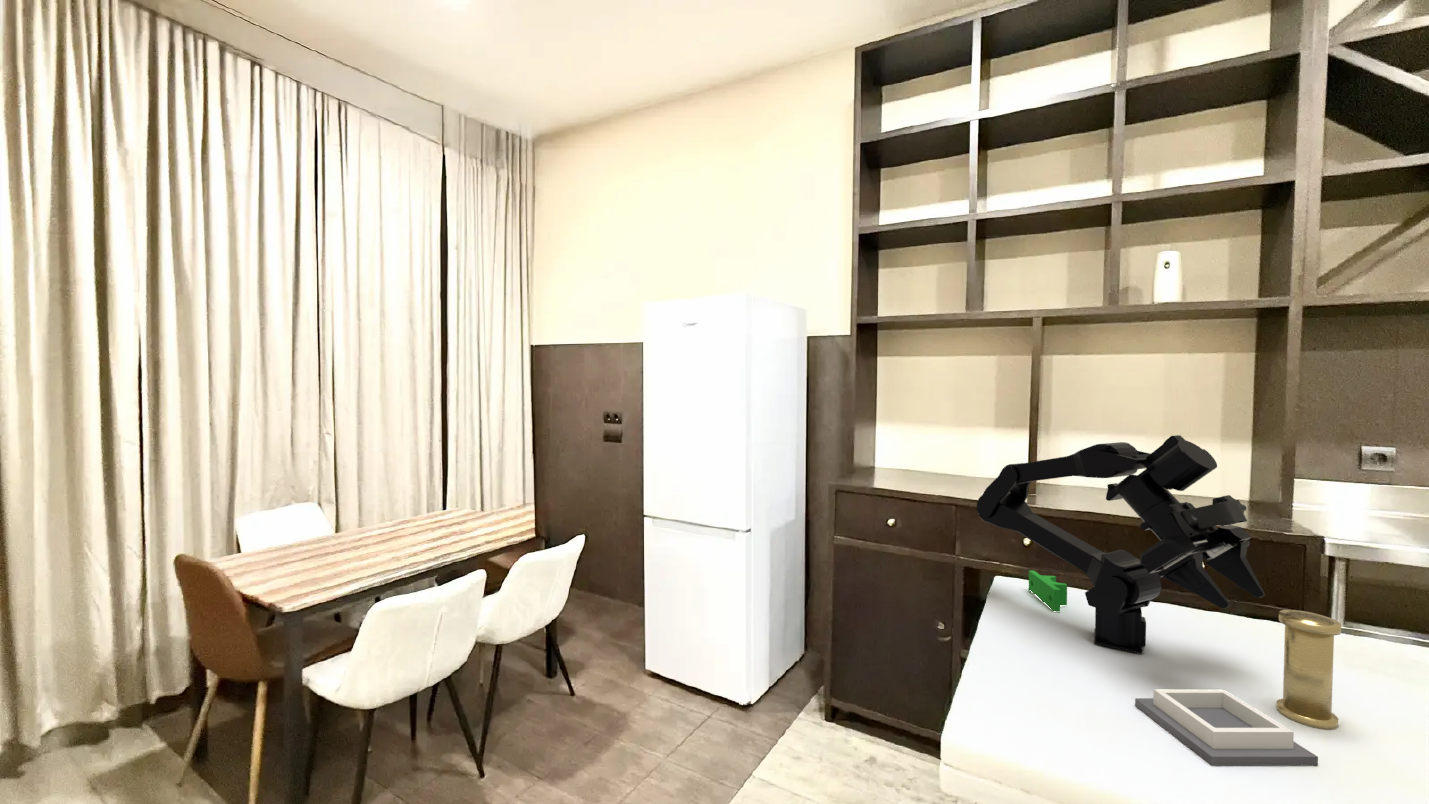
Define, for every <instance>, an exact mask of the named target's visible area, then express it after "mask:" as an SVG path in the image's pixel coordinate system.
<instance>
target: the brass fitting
mask: <svg viewBox="0 0 1429 804" xmlns="http://www.w3.org/2000/svg"><path fill="white" fill-rule="evenodd" d="M1278 621H1279V622H1280V623H1281V624H1282V625H1284V647H1283V648H1284V650H1283V651H1284V652H1283V653H1284V654H1283V655H1284V656H1283V683H1282V684H1283V687H1282V698H1279V699H1277V700H1276V704H1275V705H1276V710H1277V712H1278V713H1279V714H1280V715H1282V716H1283V717H1285V718H1286V719H1288V720H1291V721H1293V722H1295V723H1298V724H1301V725H1303V726H1307V727H1310V728H1311V727H1312V728H1316V729H1319V730H1336V729H1337V728H1339V717H1338V716H1337V715H1336V714H1334V712H1333V710H1332V709H1333V685H1334V683H1333V680H1334V651H1335V650H1334V646H1335V645H1334V644H1335V642H1334V641H1335V636H1339V635H1341V634H1342V624H1341V622H1339V620H1336V619H1333V618H1332V617H1328V616H1326V615H1322V614H1318V613H1314V612H1311V611H1310V612H1309V611H1304V610H1298V609H1282V610H1279V611H1278Z"/></svg>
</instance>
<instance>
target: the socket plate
mask: <svg viewBox="0 0 1429 804" xmlns="http://www.w3.org/2000/svg"><path fill="white" fill-rule="evenodd" d="M1134 706H1135V707H1136V708H1138V709H1139V710H1140V711H1141V712H1143V713H1144V714H1145V715H1147V716H1148V717H1149V718H1151V720H1153V721H1154V722H1155V723H1157V724H1158V725H1159V726H1160V727H1162V728H1163V729H1165V730H1166V731H1167V732H1168V733H1169V734H1171V735H1172V736H1174V737H1175V738H1176V739H1177V740H1179V741H1180V742H1181V743H1183V744H1184V745H1185V746H1186V747H1188V749H1190V750H1191V751H1193V752H1194V753H1195V754H1197V755H1198V756H1199V757H1201V758H1202V759H1203V760H1205V762H1207V763H1208V764H1209V765H1211V766H1319V765H1318V764H1319V756H1317V755H1316V754H1314V752H1311V751H1309V749H1306V748H1305V747H1303V746H1302V745H1300V744H1298V743H1297V742H1295V741H1294V740H1295V739H1294V737H1295V735H1294V734H1295V733H1294V731H1293V730H1291V729H1289V728H1288V727H1286V726H1285V725H1283V724H1281V723H1280V722H1278V721H1276V720H1275V719H1273V718H1272V717H1270V716H1269V715H1266V714H1265V713H1263V712H1261V710H1259V709H1256V708H1255V707H1254V706H1252V705H1250V704H1249V703H1247V702H1245V701H1243V700H1242V699H1240V698H1239V697H1237V696H1236V695H1233V694H1232V693H1231V692H1228V691H1226V690H1225V689H1220V688H1219V689H1213V688H1212V689H1211V688H1209V689H1204V688H1203V689H1197V688H1195V689H1194V688H1193V689H1188V688H1187V689H1180V688H1179V689H1173V688H1172V689H1168V688H1167V689H1164V688H1163V689H1161V688H1159V689H1157V688H1156V689H1155V688H1154V689H1153V698H1149V697H1148V698H1143V697H1142V698H1137V697H1136V698H1134Z"/></svg>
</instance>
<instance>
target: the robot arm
mask: <svg viewBox="0 0 1429 804" xmlns="http://www.w3.org/2000/svg"><path fill="white" fill-rule="evenodd" d="M1217 468H1218V463H1217V460H1216V459H1215V458H1214V457H1213V456H1212V454H1211V453H1209V451H1207V450H1206V449H1204V448H1201V447H1200V446H1198V445H1197V444H1195V443H1194V442H1191V441H1188V440H1186V439H1185V438H1184V437H1183V436H1182V435H1180V434H1179V435H1178V434H1176V435H1171V436H1169V437H1168V438H1167V439H1166V440H1164V442H1163V443H1162V444H1161V445H1160V446H1158V448H1156V449H1155V450H1153V451H1152V452H1151V453H1150V452H1146V451H1141V450H1138V449H1137V448H1136V447H1135V446H1133V445H1131V444H1130V443H1129V442H1123V441H1119V442H1109V443H1108V442H1107V443H1096V444H1093V445H1091V446H1088V447H1085V448H1082V449H1080V450H1078V451H1076V452H1075V453H1073V454H1070V455H1067V456H1060V457H1055V458H1047V459H1042V460H1036V461H1030V462H1024V463H1023V462H1021V463H1010V464H1007V465H1005V466H1004V467H1003V468H1002V469H1001V470H1000V473H999V474H998V475H997V477H996V478H995V479H994V480H993V481H992V482H991V483H990V484H989V485H988V486H987V487H985V490H984V491H983V493H982V495H980V497H978V499H977V501H976V510H977V513H978V515H977V516H978V517H979V518H980V519H981V520H982V521H983V522H985V523H988V524H990V525H992V526H995V527H998V528H1002V529H1006V530H1010V531H1014V532H1017V533H1019V534H1020V535H1022V536H1023V537H1025V538H1027V539H1028V540H1030V541H1032V542H1034V543H1036V544H1037V545H1039V546H1040V547H1042V548H1043V549H1045V550H1047V551H1048V552H1049V553H1051V554H1053V555H1055V556H1057V558H1060V559H1062V560H1063V561H1065V562H1067V563H1068V564H1070V565H1071V566H1073V567H1074V568H1076V569H1078V570H1079V571H1081V572H1083V573H1084V574H1085V575H1086V576H1087V577H1088V579H1089V580H1090V582H1091V583H1092V586H1093V587H1092V588H1089V589H1088V590H1087V591H1085V592H1084V595H1085V597H1086V601H1087V605H1088V606H1089V607H1093V608H1094V609H1095V613H1094V614H1095V615H1094V620H1095V621H1094V626H1095V627H1094V629H1093V631H1094V632H1093V633H1094V634H1093V644H1095V645H1098V646H1102V647H1108V648H1111V649H1116V650H1122V651H1127V652H1131V653H1134V654H1140V655H1141V654H1143V648H1145V647H1147V645H1146V644H1147V643H1146V642H1147V620H1146V617H1145V616H1143V613H1142V608H1145V607H1148V606H1149V605H1150V603H1151V601H1152V600H1153V599H1155V598H1157V597H1158V596H1160V593H1161V591H1162V582H1161V579H1160V578H1164V579H1166V580H1167V581H1169V582H1172V583H1174V584H1176V585H1179V586H1180V587H1182V588H1184V589H1186V590H1188V591H1189V592H1190V593H1191V592H1192V593H1193V594H1195V595H1197V596H1199V597H1201V598H1202V599H1204V600H1206V601H1207V602H1209V603H1211V604H1213V605H1214V606H1217V608H1221V609H1223V610H1224V609H1228V608H1229V607H1230V606H1231V604H1230V602H1229V600H1228V599H1227V597H1226V596H1225V595H1224V593H1223V592H1222V591H1221V589H1220V587H1219V586H1218V585H1217V584H1216V583H1215V581H1214V580H1213V579H1212V577H1211V576H1210V574H1209V573H1208V572H1207V571H1206V569H1205V568H1204V565H1203V563H1204V561H1203V560H1204V559H1205V560H1206V562H1205V564H1206V565H1207V566H1208V567H1210V568H1212V569H1213V570H1215V571H1216V572H1218V573H1219V574H1221V575H1223V576H1224V577H1225V578H1227V580H1229V581H1231V582H1232V583H1233V584H1235V585H1237V586H1238V587H1239V588H1241V589H1242V590H1244V591H1245V592H1246V593H1248V594H1250V595H1252V596H1253V597H1254V598H1256V599H1260V598H1263V597H1264V596H1265V595H1266V594H1265V592H1264V589H1263V588H1262V586H1261V585H1260V584H1261V583H1260V582H1259V580H1258V579H1257V576H1256V574H1255V573H1254V571H1253V569H1252V567H1251V565H1250V563H1249V561H1248V559H1247V552H1248V547H1249V546H1250V539H1251V538H1252V536H1250V534H1248V533H1247V532H1246V530H1244V528H1243V527H1242V526H1240V525H1235V524H1238V523H1239V524H1240V523H1245V522H1248V519H1247V518H1246V516H1245V511H1246V510H1247V506H1246V505H1245V504H1242V503H1241V501H1240V499H1235V498H1233V496H1231V495H1229V494H1228V495H1222V496H1219V497H1214V498H1212V502H1211V503H1212V504H1208V505H1203V506H1199V507H1195V506H1194V505H1193V504H1192V503H1191V502H1188V501H1185V502H1181V501H1179V499H1178V498H1176V496H1175V495H1173V493H1171V490H1175V491H1178V492H1184V491H1185V490H1187V489H1188V488H1189V487H1191V486H1193V485H1194V484H1195V483H1197V482H1198V481H1200V480H1201V479H1203V478H1204V477H1205V476H1207V475H1208V474H1210V473H1211V472H1213V471H1214V470H1216V469H1217ZM1143 469H1144V470H1143ZM1138 470H1143V471H1141V472H1140V473H1139V474H1136V473H1137V472H1138ZM1068 477H1080V478H1081V477H1082V478H1093V479H1094V478H1095V479H1110V478H1120V477H1125V478H1123V479H1122V480H1121V481H1119V482H1118V483H1117V482H1116V483H1108V484H1107V485H1106V486H1107V491H1106V495H1105V500H1106V501H1107V502H1111V501H1117V500H1122V499H1123V500H1124V501H1125V502H1126V503H1127V504H1128V506H1129V507H1130V508H1131V509H1132V510H1133V511H1134V512H1135V514H1136V515H1137V516H1138V517H1139V518H1140V520H1142V523H1141V524H1139V526H1140V527H1141V529H1142V530H1143V531H1152V533H1153V534H1154V535H1155V536H1156V537H1157V539H1158V540H1159V541H1158V542H1156V543H1155V544H1153V545H1151V546H1150V547H1148V548H1147V549H1145V550H1144V551H1143V552H1140V554H1139V555H1140V556H1139V558H1138V557H1135V556H1134V555H1133V554H1132V553H1130V552H1128V551H1126V550H1124V549H1119V550H1114V551H1110V552H1104V551H1102V550H1100V549H1098V548H1096V547H1095V546H1092V545H1091V544H1090V543H1087V542H1085V541H1084V540H1082V539H1080V538H1078V537H1077V536H1075V535H1074V534H1072V533H1070V532H1067V531H1066V530H1064V529H1062V528H1061V527H1059V526H1057V525H1055V524H1053V523H1052V522H1050V521H1048V520H1046V519H1045V518H1043V517H1041V516H1039V515H1037V514H1036V513H1034V512H1033V510H1032V509H1031V508H1030V506H1029V504H1028V503H1027V502H1026V500H1027V499H1028V496H1029V490H1030V489H1029V487H1030V485H1031V483H1032V482H1037V481H1044V480H1051V479H1059V478H1068ZM1217 526H1218V527H1217Z"/></svg>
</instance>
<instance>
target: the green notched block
mask: <svg viewBox="0 0 1429 804" xmlns="http://www.w3.org/2000/svg"><path fill="white" fill-rule="evenodd" d="M1029 590H1031V591H1032V592H1033V593H1034V594H1036V595H1037V596H1038V597H1039V598H1040V599H1041V600H1042V601H1043V602H1045V603H1046V604H1047V605H1048V606H1049V607H1050V608H1051V609H1052V610H1053V611H1060V612H1061V607H1060V605H1067V606H1068V584H1067V583H1062V582H1058V581H1057V576H1055V575H1041V574H1039V573H1038V572H1037V571H1035V570H1028V591H1029ZM1050 608H1049V609H1050ZM1051 609H1050V610H1051ZM1052 610H1051V611H1052ZM1053 611H1052V612H1053Z"/></svg>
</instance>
